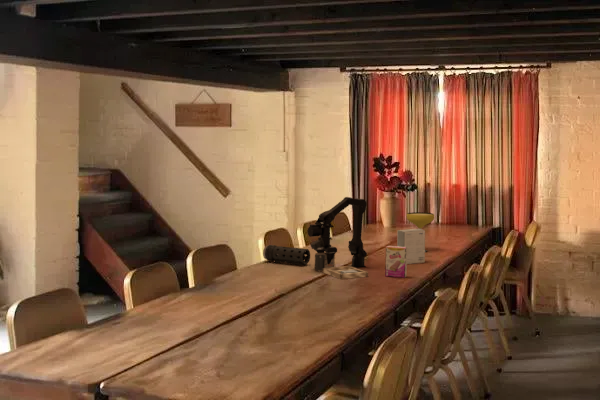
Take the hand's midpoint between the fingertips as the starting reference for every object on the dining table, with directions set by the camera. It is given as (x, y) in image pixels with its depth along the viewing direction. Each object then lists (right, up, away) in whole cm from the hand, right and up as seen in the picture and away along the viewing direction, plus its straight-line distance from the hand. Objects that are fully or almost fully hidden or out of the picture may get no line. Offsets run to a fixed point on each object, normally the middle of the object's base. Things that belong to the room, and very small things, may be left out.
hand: (324, 262), depth 422 cm
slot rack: (+11, -5, -13) cm, 17 cm away
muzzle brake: (-22, -2, +21) cm, 30 cm away
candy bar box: (+38, -6, -16) cm, 42 cm away
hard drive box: (+53, -2, +28) cm, 60 cm away
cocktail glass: (+66, +1, +73) cm, 98 cm away
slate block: (+13, -6, -17) cm, 22 cm away
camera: (0, -4, 0) cm, 4 cm away
